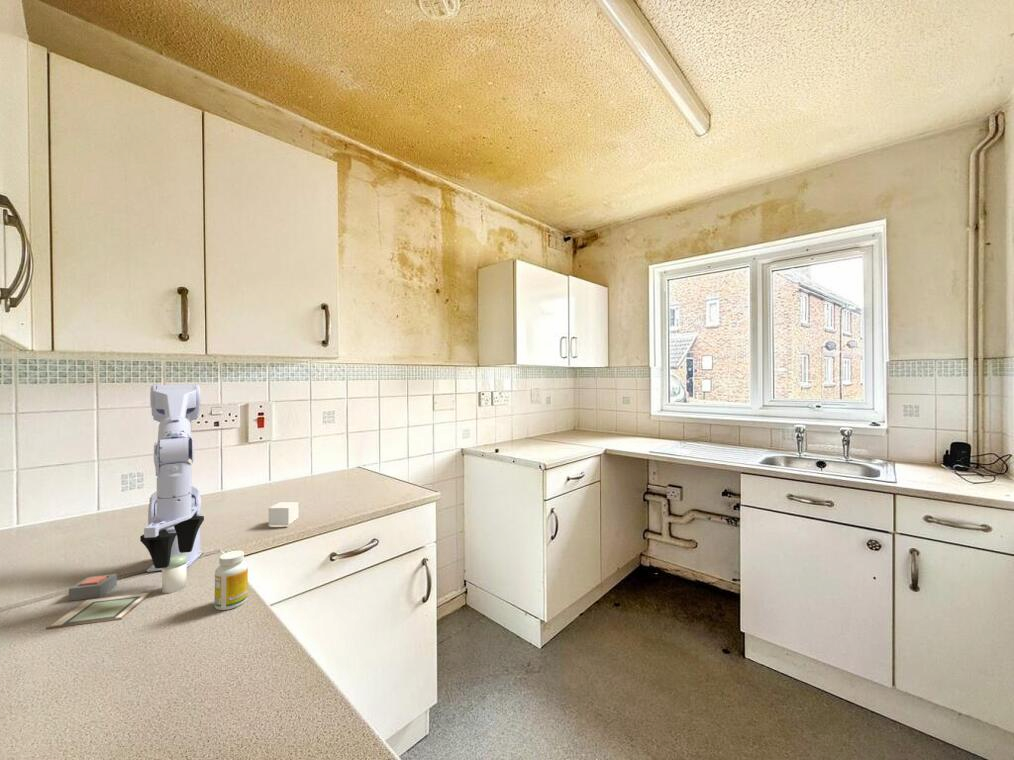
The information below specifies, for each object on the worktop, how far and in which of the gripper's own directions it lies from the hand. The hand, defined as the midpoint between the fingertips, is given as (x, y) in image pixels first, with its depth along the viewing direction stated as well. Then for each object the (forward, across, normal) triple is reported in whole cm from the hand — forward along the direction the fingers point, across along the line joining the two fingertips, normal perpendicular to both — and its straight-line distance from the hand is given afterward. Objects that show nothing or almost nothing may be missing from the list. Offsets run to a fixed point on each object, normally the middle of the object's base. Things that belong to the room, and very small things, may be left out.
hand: (174, 559), depth 86 cm
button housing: (+6, -1, -16) cm, 17 cm away
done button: (+5, -1, -15) cm, 16 cm away
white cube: (+6, -38, +8) cm, 39 cm away
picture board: (+6, +7, -8) cm, 12 cm away
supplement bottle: (+6, +8, +15) cm, 18 cm away
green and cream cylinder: (+6, 0, 0) cm, 6 cm away
